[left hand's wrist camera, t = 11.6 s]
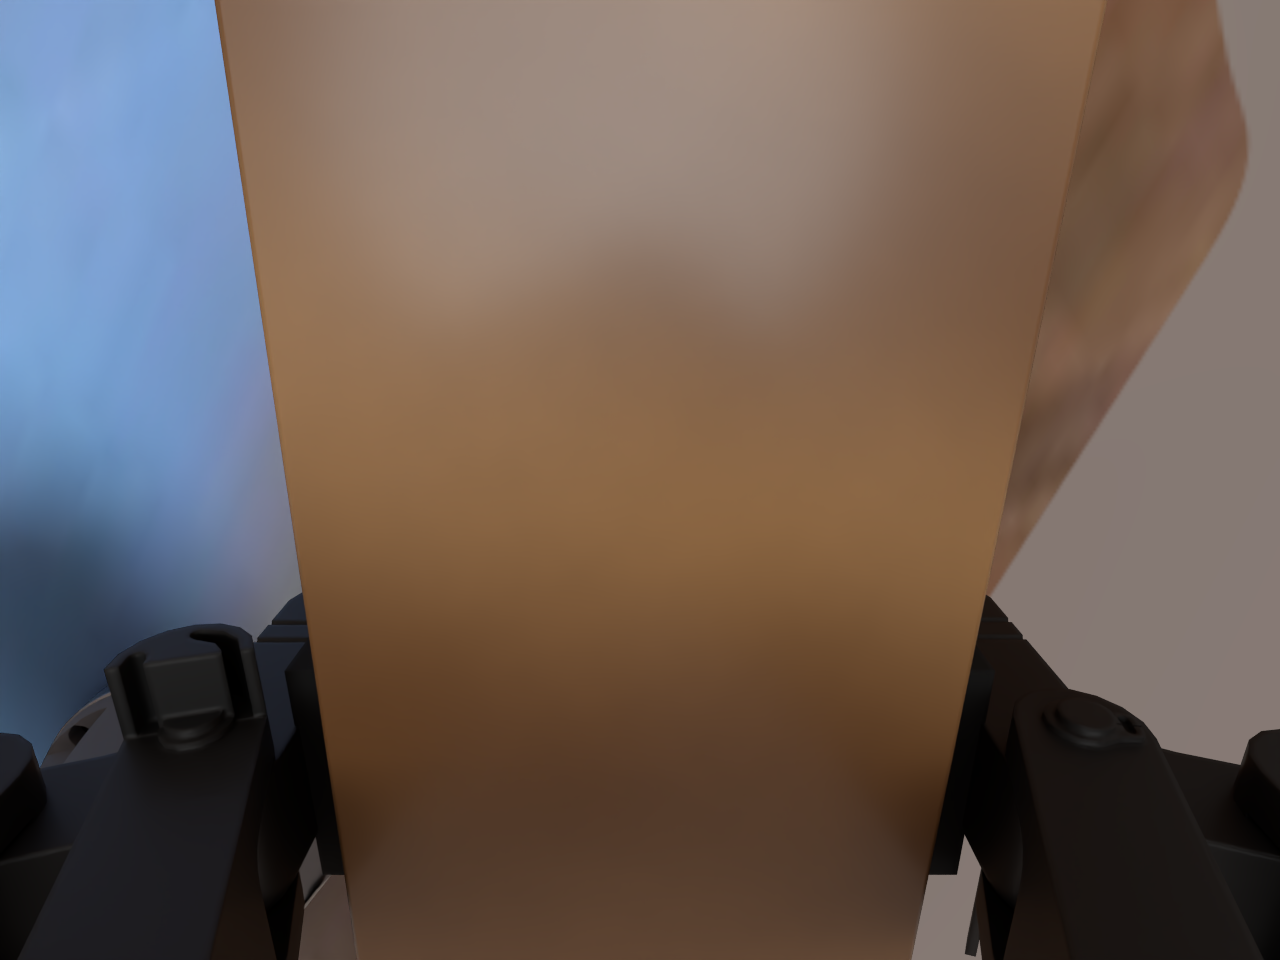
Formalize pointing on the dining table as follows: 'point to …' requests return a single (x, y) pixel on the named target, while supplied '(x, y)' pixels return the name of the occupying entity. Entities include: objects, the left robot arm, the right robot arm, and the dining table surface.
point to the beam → (648, 442)
